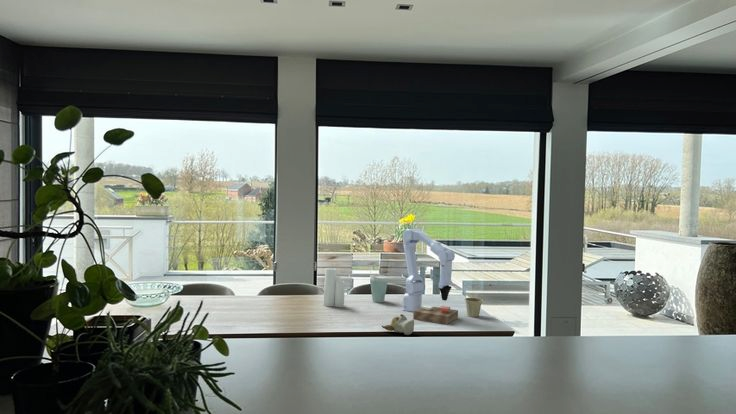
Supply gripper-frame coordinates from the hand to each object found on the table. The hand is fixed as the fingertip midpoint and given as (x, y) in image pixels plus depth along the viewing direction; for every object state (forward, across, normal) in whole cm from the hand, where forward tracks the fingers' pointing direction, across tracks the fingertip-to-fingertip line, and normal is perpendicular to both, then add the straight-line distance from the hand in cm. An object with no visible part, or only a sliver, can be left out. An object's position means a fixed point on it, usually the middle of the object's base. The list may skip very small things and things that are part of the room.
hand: (444, 300), depth 282 cm
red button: (+8, -3, -1) cm, 9 cm away
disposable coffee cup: (+10, +14, +45) cm, 48 cm away
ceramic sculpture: (+10, -38, +6) cm, 40 cm away
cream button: (+9, -3, +8) cm, 12 cm away
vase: (+10, -10, +60) cm, 62 cm away
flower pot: (+10, +15, -11) cm, 21 cm away
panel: (+9, -3, +3) cm, 10 cm away
